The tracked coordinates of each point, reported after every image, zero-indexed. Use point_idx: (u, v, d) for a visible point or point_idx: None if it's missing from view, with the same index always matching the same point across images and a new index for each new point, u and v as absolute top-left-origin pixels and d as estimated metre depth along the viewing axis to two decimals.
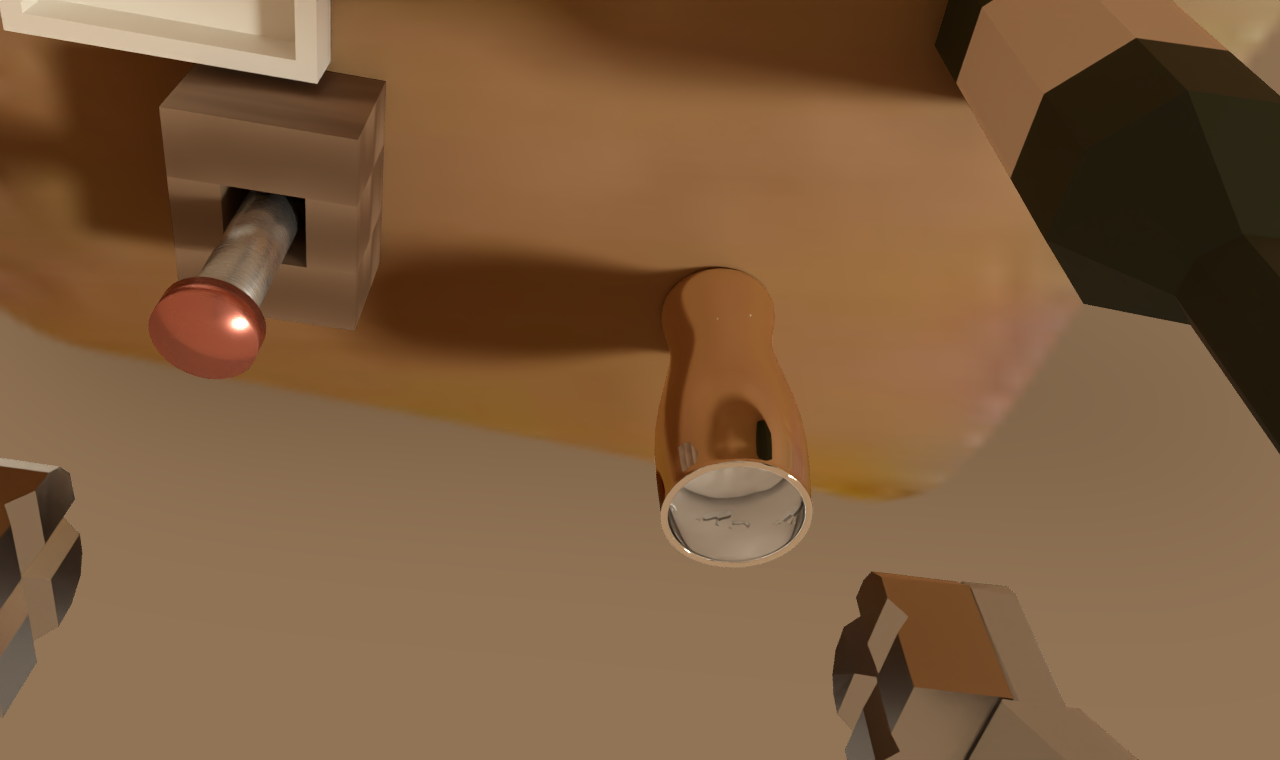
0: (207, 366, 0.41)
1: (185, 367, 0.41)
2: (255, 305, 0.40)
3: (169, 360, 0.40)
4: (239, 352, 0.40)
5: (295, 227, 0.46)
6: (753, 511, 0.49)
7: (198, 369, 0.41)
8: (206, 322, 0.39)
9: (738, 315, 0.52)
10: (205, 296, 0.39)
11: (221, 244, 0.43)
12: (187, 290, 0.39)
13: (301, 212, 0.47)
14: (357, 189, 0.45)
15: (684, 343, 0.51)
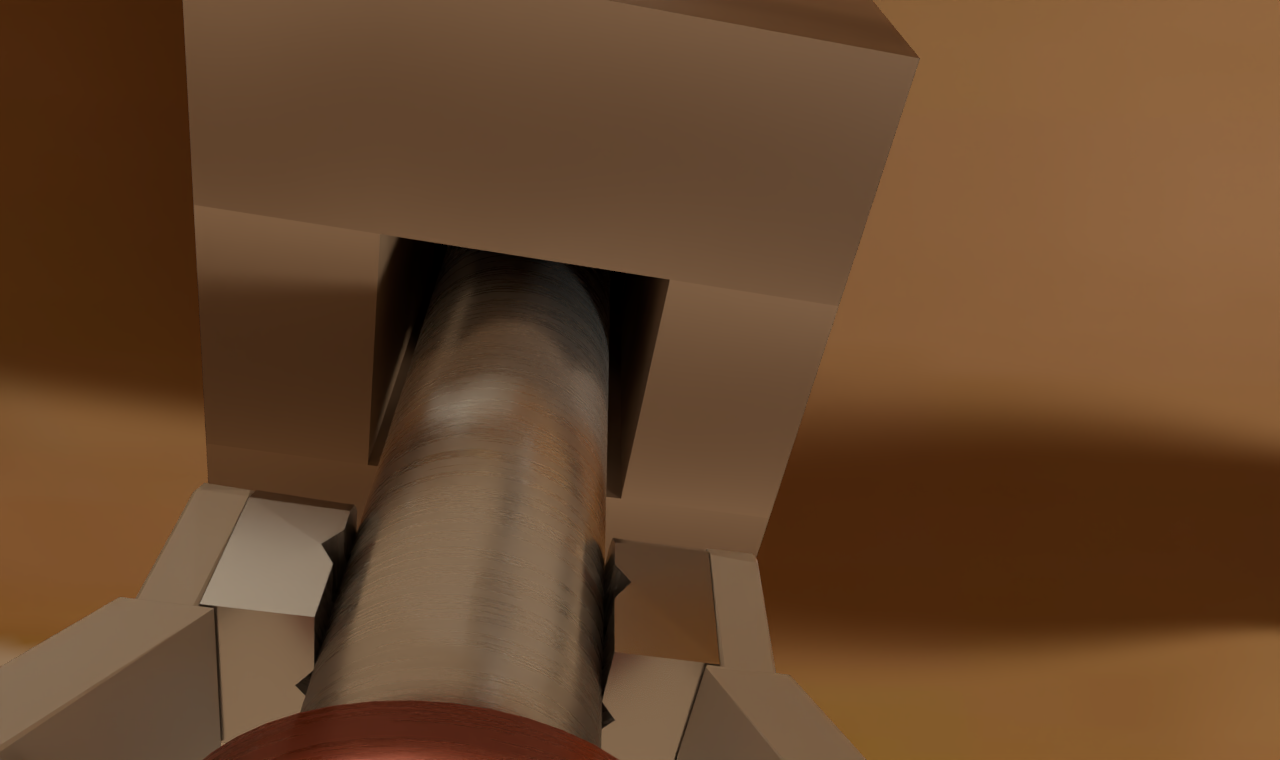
0: None
1: None
2: None
3: None
4: None
5: (608, 376, 0.14)
6: None
7: None
8: None
9: None
10: None
11: (418, 463, 0.10)
12: None
13: (609, 327, 0.15)
14: (854, 247, 0.13)
15: None
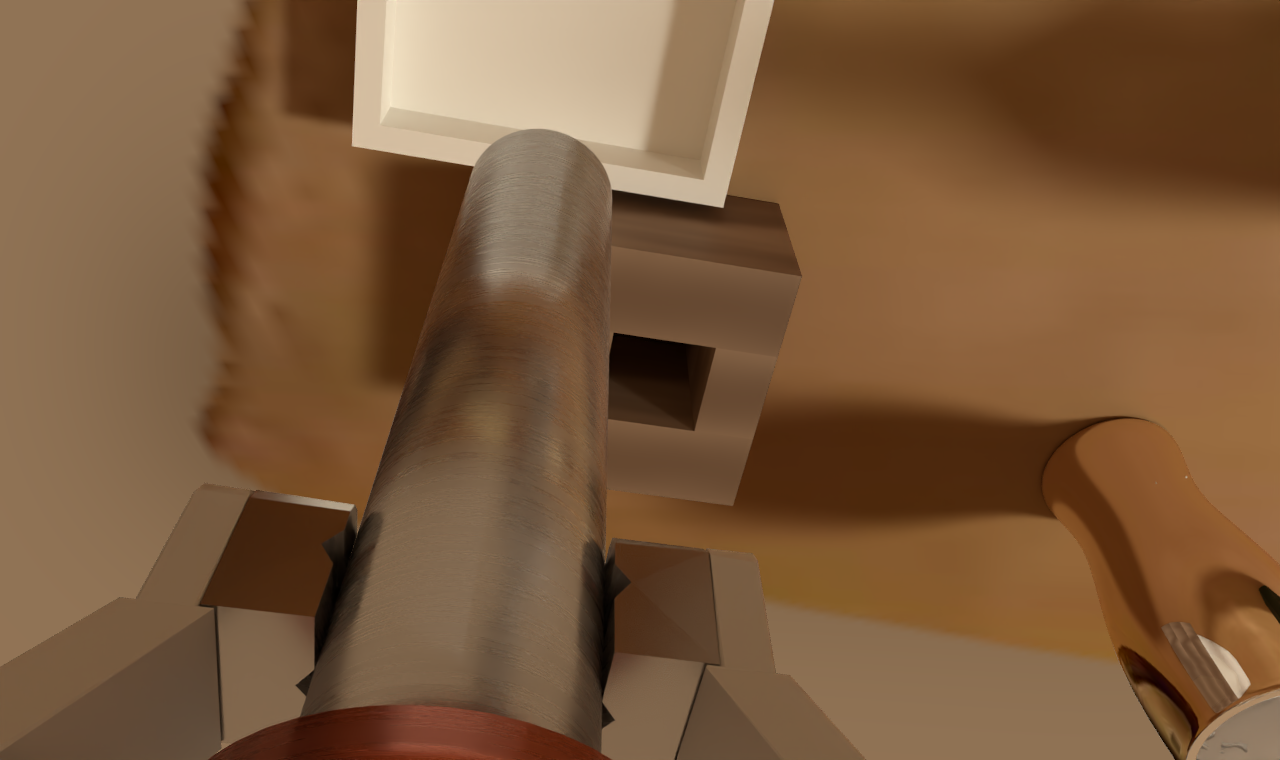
0: None
1: None
2: None
3: None
4: None
5: None
6: (1244, 729, 0.39)
7: None
8: None
9: (1176, 477, 0.43)
10: None
11: (418, 465, 0.10)
12: None
13: (609, 329, 0.15)
14: (782, 336, 0.36)
15: (1122, 514, 0.42)
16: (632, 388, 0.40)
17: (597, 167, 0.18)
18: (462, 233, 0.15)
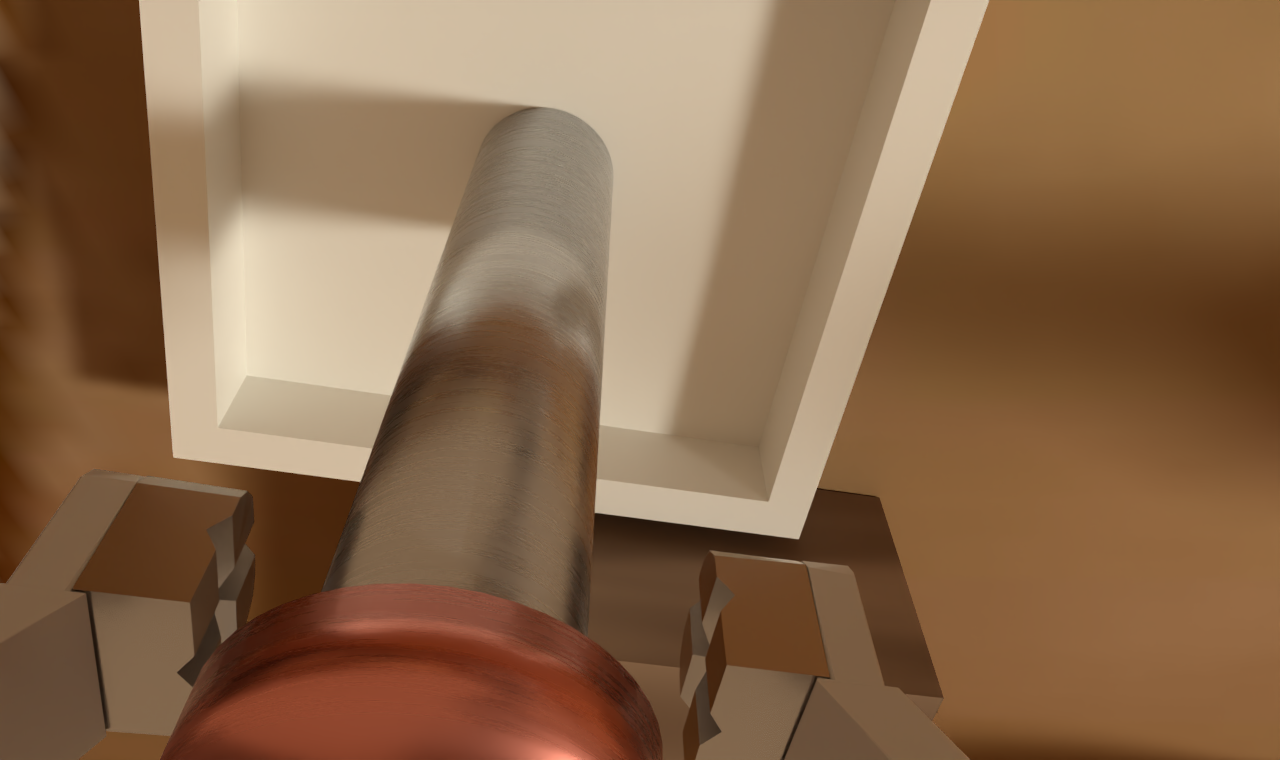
0: None
1: None
2: (645, 706, 0.08)
3: None
4: None
5: (604, 336, 0.15)
6: None
7: None
8: None
9: None
10: (452, 720, 0.07)
11: (423, 401, 0.11)
12: (348, 679, 0.07)
13: (606, 292, 0.16)
14: None
15: None
16: None
17: (598, 144, 0.19)
18: (468, 202, 0.16)
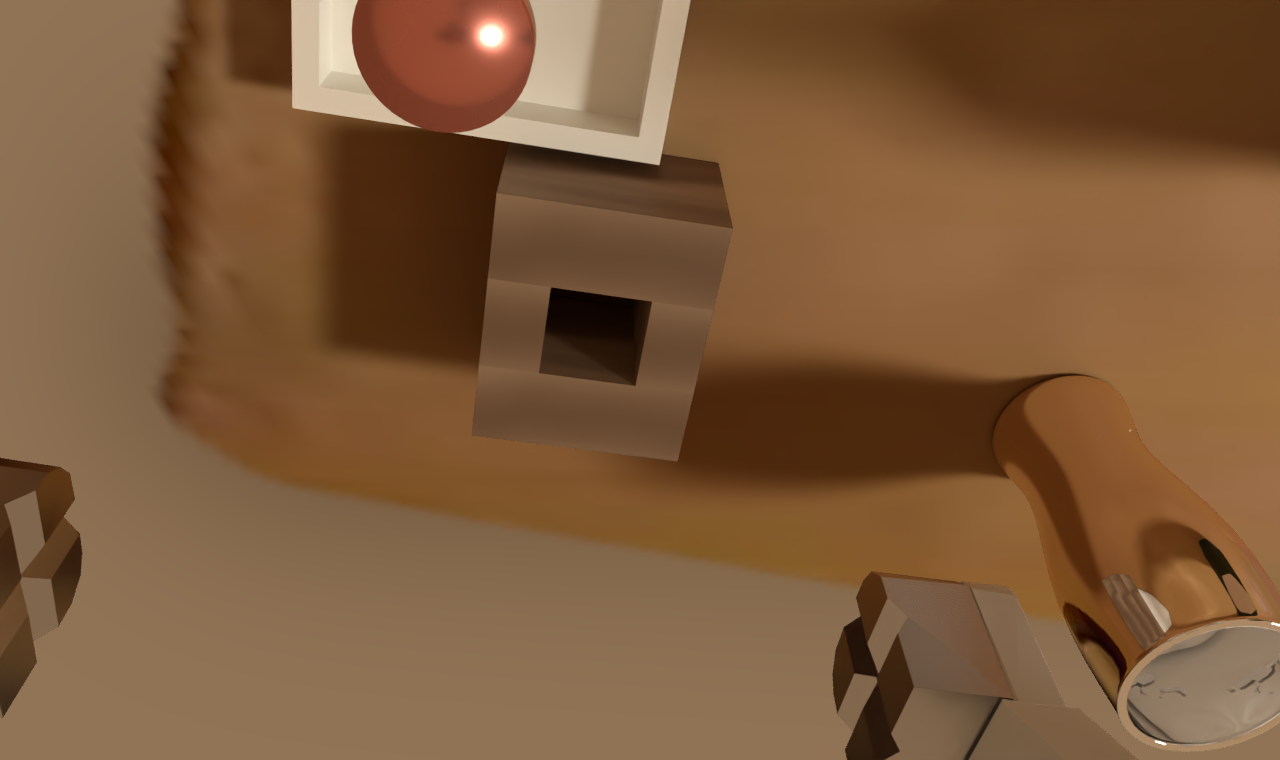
0: (441, 105, 0.24)
1: (403, 110, 0.24)
2: None
3: (378, 95, 0.24)
4: (500, 75, 0.24)
5: None
6: (1183, 674, 0.40)
7: (424, 113, 0.24)
8: (453, 10, 0.23)
9: (1119, 431, 0.43)
10: None
11: None
12: None
13: None
14: (717, 289, 0.37)
15: (1064, 466, 0.42)
16: (576, 346, 0.40)
17: None
18: None
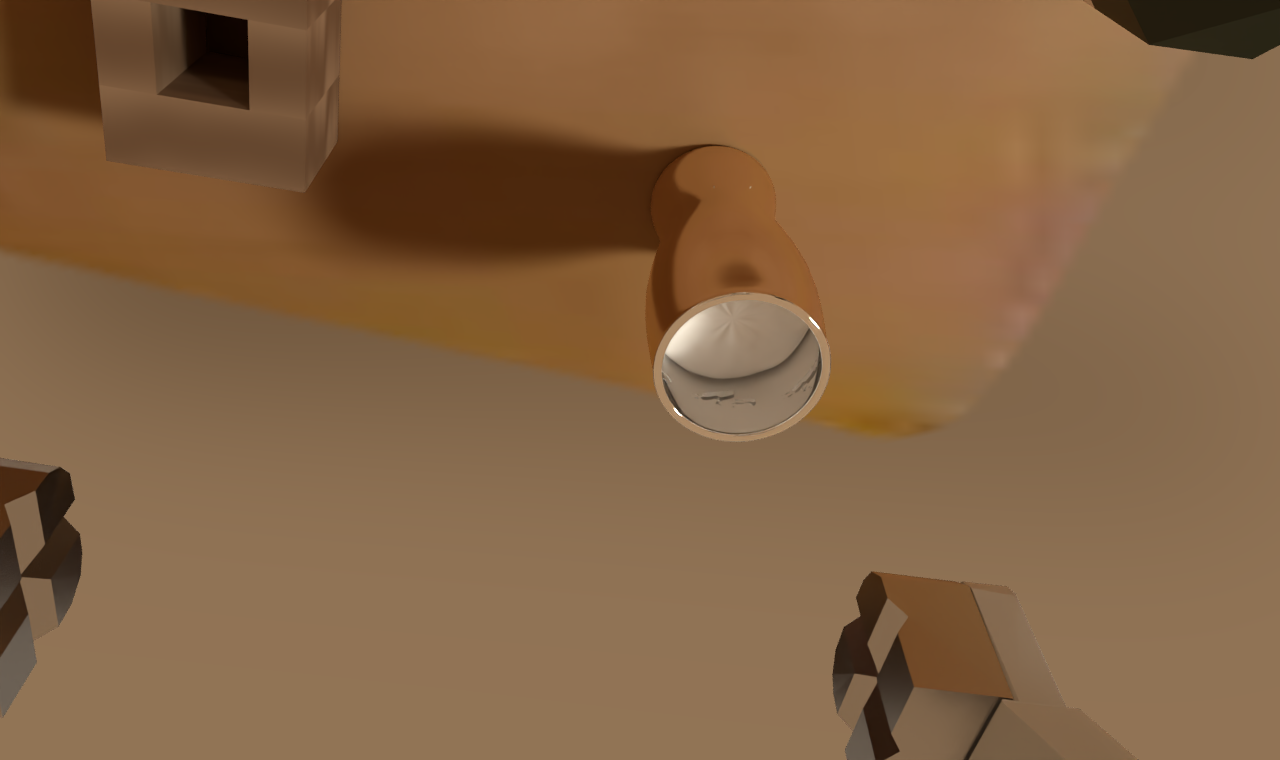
0: None
1: None
2: None
3: None
4: None
5: None
6: (759, 389, 0.43)
7: None
8: None
9: (737, 185, 0.46)
10: None
11: None
12: None
13: None
14: (307, 8, 0.40)
15: (677, 212, 0.46)
16: (209, 82, 0.44)
17: None
18: None
